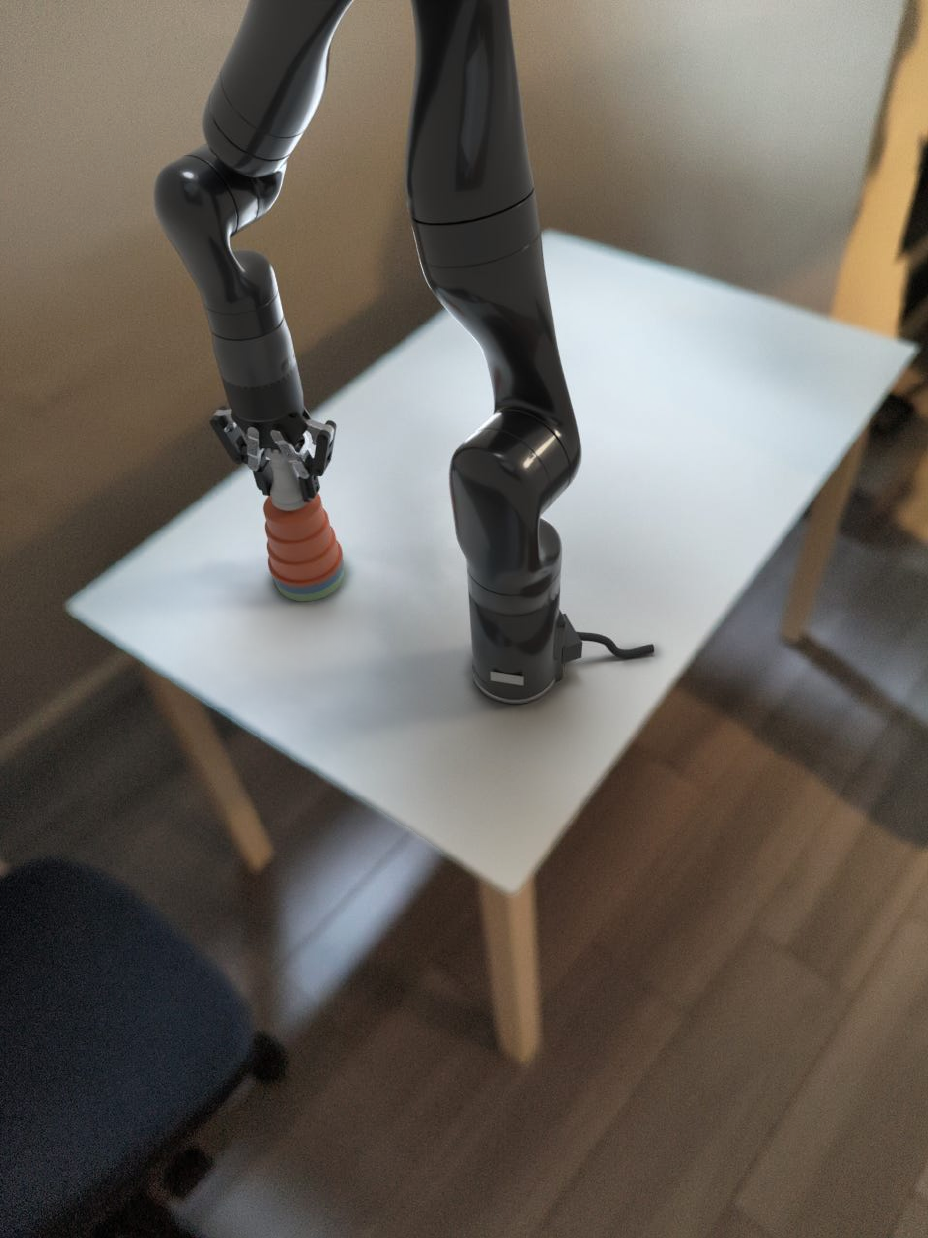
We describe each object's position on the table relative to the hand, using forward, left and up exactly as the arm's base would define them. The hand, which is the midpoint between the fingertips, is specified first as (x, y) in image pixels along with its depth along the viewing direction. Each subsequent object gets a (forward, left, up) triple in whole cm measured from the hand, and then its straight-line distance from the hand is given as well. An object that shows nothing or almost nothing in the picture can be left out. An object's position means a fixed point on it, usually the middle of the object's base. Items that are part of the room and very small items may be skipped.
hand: (289, 493), depth 103 cm
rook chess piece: (0, 0, -1) cm, 1 cm away
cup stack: (0, 0, -13) cm, 13 cm away
